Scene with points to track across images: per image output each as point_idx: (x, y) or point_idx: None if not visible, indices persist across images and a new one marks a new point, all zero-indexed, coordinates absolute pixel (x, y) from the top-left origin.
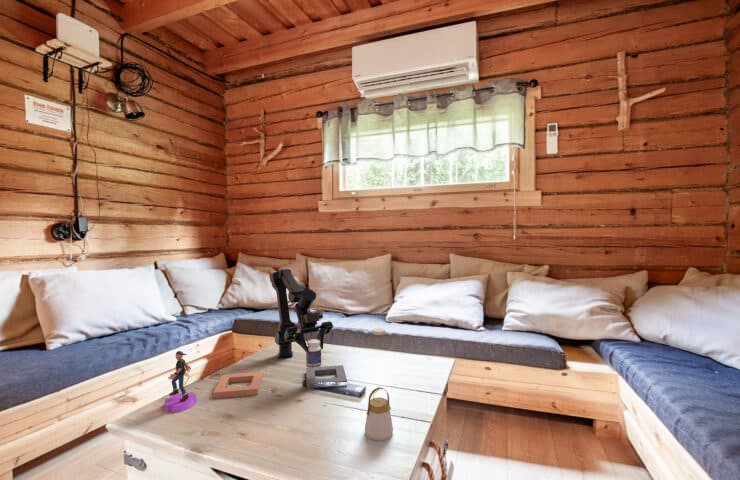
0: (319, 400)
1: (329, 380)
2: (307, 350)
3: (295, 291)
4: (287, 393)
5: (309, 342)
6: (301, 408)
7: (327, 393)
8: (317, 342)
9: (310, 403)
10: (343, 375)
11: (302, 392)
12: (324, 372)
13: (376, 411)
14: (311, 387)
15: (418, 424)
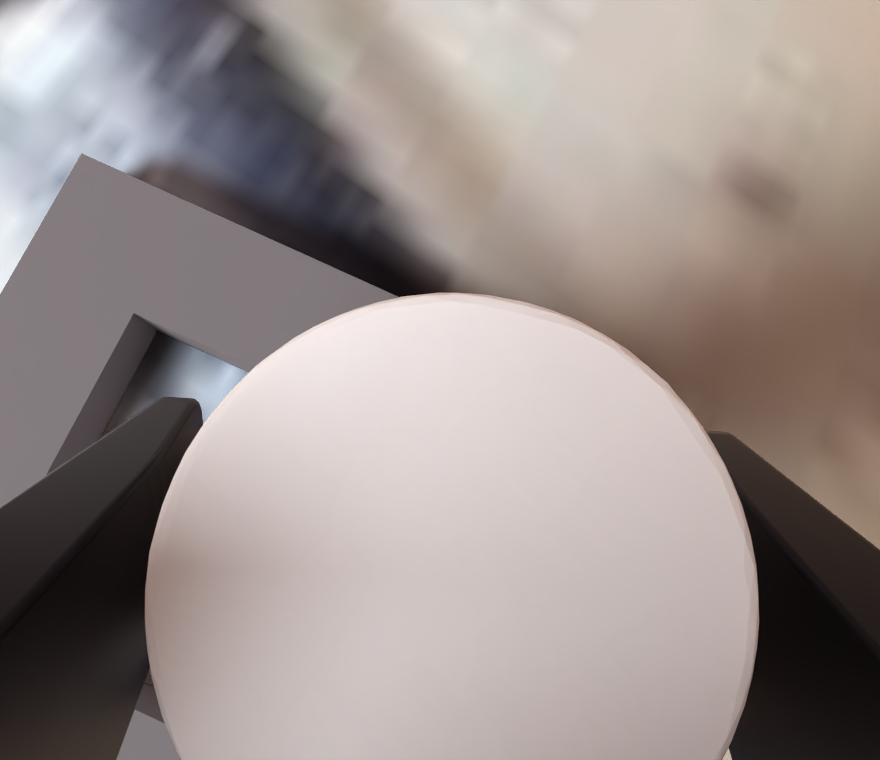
0: (569, 69)
1: (282, 300)
2: (727, 435)
3: None
4: (826, 434)
5: (724, 487)
6: (799, 32)
7: (416, 157)
8: (387, 304)
9: (680, 68)
10: (20, 327)
11: (659, 352)
12: (151, 698)
13: None
14: None
15: None
